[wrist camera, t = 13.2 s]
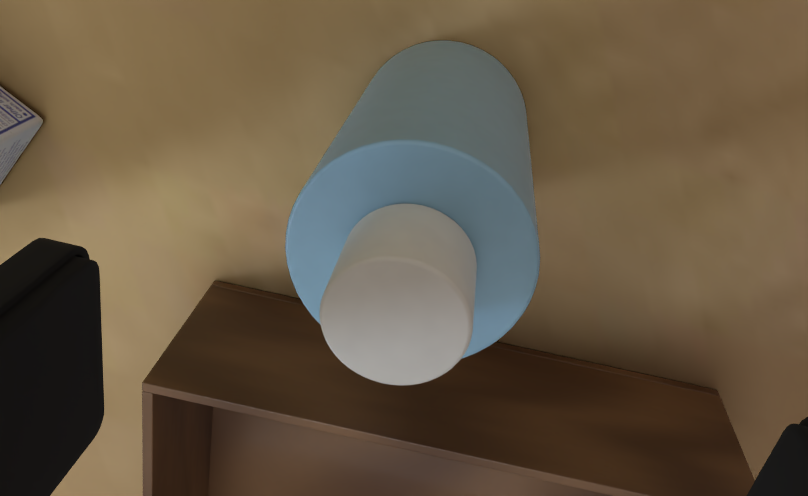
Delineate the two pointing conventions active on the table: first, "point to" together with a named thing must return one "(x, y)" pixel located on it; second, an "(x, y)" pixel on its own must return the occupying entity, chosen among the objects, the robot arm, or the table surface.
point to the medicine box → (14, 130)
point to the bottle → (420, 217)
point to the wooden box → (414, 419)
